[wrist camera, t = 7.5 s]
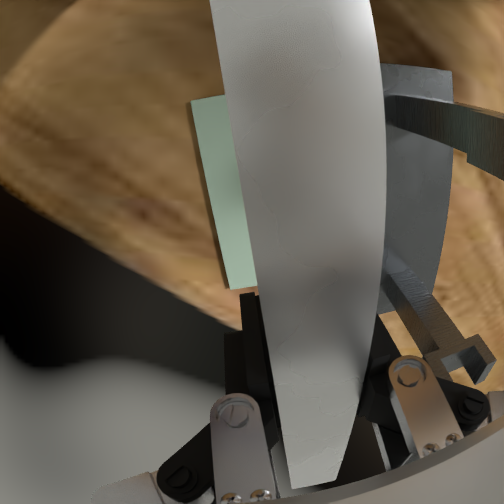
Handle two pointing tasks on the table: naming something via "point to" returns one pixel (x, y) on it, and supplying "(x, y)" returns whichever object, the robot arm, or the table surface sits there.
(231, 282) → the mat
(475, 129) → the rack
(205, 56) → the table surface
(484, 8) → the table surface
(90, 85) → the table surface
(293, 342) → the rail
